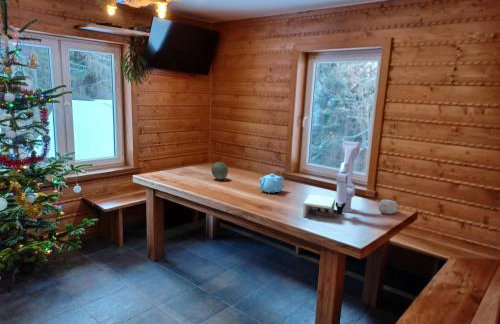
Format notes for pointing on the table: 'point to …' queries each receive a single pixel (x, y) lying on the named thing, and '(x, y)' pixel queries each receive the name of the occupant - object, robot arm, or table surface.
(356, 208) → the table surface
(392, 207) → the grey rounded lump
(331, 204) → the white shelf
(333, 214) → the walnut tray
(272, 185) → the decorative pot
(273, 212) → the table surface
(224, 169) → the cantaloupe
